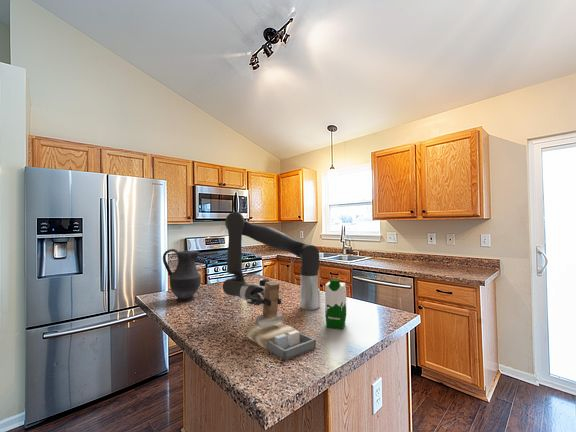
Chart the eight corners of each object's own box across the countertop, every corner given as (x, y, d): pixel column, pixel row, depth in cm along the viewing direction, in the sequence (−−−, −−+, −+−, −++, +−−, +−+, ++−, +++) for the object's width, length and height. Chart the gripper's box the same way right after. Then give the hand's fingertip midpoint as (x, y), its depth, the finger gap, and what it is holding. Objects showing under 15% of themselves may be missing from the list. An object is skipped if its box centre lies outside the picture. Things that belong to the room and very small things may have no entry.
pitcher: (200, 302, 151) (200, 249, 152) (159, 306, 145) (160, 250, 146) (201, 295, 168) (201, 247, 169) (164, 298, 162) (165, 248, 163)
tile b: (274, 336, 94) (278, 338, 93) (283, 333, 97) (287, 335, 95) (274, 348, 94) (278, 350, 93) (283, 345, 97) (287, 346, 95)
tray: (267, 350, 94) (267, 341, 94) (297, 339, 103) (297, 331, 103) (284, 360, 86) (284, 351, 86) (315, 348, 95) (315, 339, 95)
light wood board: (246, 336, 105) (246, 327, 105) (275, 328, 114) (275, 319, 114) (266, 349, 94) (266, 339, 94) (297, 338, 103) (297, 329, 103)
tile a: (287, 332, 97) (290, 334, 96) (295, 330, 100) (299, 331, 98) (287, 344, 97) (291, 345, 96) (295, 341, 100) (299, 342, 98)
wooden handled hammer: (255, 323, 104) (258, 283, 103) (276, 318, 110) (279, 279, 109) (261, 328, 101) (264, 286, 99) (282, 322, 107) (285, 282, 106)
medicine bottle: (272, 299, 158) (272, 278, 159) (266, 302, 152) (266, 280, 152) (262, 297, 161) (262, 277, 162) (255, 300, 155) (255, 279, 155)
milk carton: (323, 328, 113) (323, 280, 114) (327, 320, 122) (327, 276, 123) (345, 330, 111) (344, 281, 111) (347, 323, 119) (347, 277, 120)
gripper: (237, 286, 111) (259, 295, 98) (265, 282, 120) (290, 289, 107) (237, 305, 111) (259, 316, 98) (265, 299, 120) (290, 308, 107)
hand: (275, 302), depth 102 cm, fingers closed on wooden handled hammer, 4 cm apart
